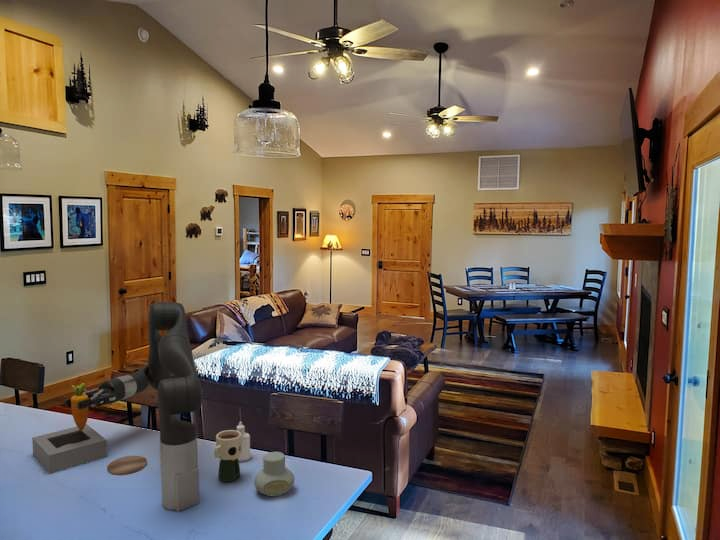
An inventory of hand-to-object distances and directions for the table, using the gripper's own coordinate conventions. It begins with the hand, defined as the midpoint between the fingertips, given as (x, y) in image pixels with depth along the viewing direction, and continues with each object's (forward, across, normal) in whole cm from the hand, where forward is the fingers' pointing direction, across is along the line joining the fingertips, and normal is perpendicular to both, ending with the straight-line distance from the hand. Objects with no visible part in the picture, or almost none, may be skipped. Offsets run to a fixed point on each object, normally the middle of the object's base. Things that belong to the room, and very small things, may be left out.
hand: (72, 404), depth 159 cm
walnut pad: (-5, +16, +18) cm, 25 cm away
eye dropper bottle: (-23, +45, +19) cm, 54 cm away
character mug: (-12, +49, +19) cm, 54 cm away
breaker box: (-3, -6, +18) cm, 19 cm away
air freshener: (-12, +65, +19) cm, 68 cm away
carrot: (-3, 0, +9) cm, 10 cm away
